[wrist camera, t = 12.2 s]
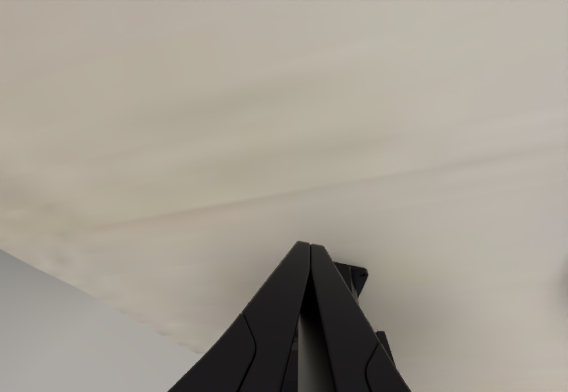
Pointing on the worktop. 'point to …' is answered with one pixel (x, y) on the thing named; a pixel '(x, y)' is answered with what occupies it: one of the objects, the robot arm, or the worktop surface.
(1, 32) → the worktop surface
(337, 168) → the worktop surface
